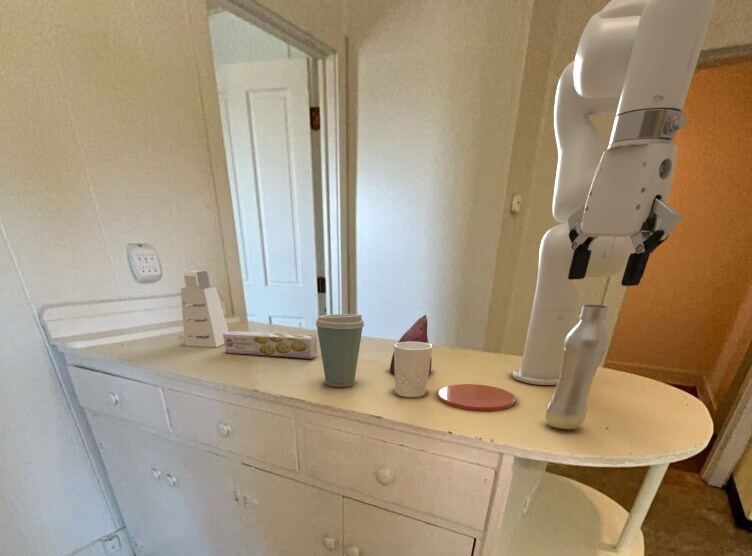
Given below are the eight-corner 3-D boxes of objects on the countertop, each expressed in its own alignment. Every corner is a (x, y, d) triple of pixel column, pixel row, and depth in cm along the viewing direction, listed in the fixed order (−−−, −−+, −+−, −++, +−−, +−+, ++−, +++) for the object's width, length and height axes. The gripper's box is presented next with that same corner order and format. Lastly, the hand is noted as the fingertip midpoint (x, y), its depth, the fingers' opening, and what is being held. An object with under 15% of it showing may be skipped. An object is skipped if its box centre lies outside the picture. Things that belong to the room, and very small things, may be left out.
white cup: (431, 390, 96) (435, 343, 90) (423, 400, 89) (427, 350, 84) (397, 386, 98) (400, 340, 92) (388, 396, 92) (389, 347, 86)
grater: (184, 345, 132) (169, 271, 121) (201, 339, 141) (188, 269, 130) (216, 347, 131) (203, 272, 120) (231, 340, 140) (220, 270, 129)
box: (225, 353, 124) (221, 332, 121) (235, 349, 128) (231, 329, 125) (311, 360, 118) (310, 338, 114) (318, 356, 122) (317, 335, 119)
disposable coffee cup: (308, 383, 99) (304, 313, 91) (341, 374, 106) (340, 308, 98) (340, 393, 93) (338, 318, 85) (373, 383, 100) (374, 313, 92)
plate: (481, 384, 100) (482, 380, 100) (531, 404, 88) (532, 400, 88) (424, 392, 94) (424, 389, 94) (468, 415, 82) (469, 411, 82)
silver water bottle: (536, 421, 80) (564, 303, 69) (571, 420, 80) (604, 303, 70) (552, 434, 74) (585, 308, 64) (589, 433, 75) (627, 309, 64)
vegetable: (426, 380, 114) (446, 321, 107) (427, 386, 104) (449, 322, 98) (389, 368, 113) (406, 308, 107) (386, 373, 104) (406, 308, 97)
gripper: (729, 125, 51) (671, 287, 60) (605, 145, 63) (573, 276, 73) (690, 119, 48) (636, 289, 57) (569, 141, 61) (541, 277, 70)
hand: (601, 282), depth 65 cm, fingers open, 9 cm apart
